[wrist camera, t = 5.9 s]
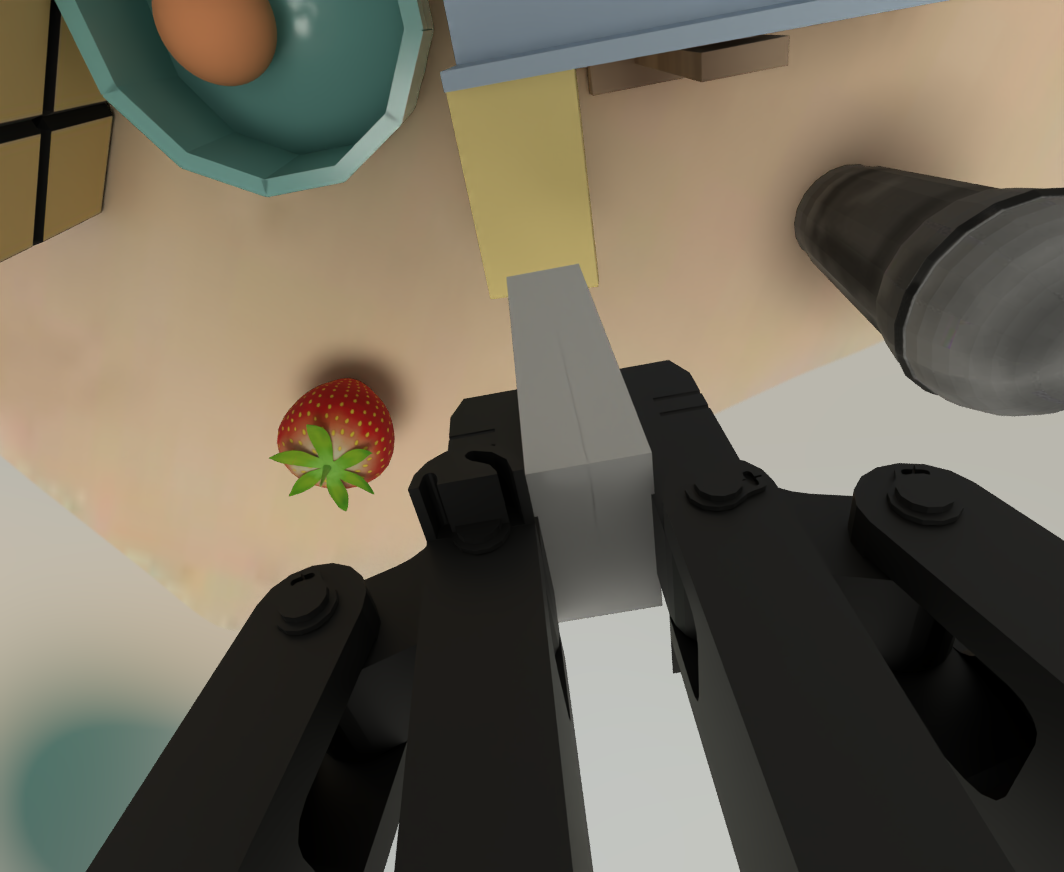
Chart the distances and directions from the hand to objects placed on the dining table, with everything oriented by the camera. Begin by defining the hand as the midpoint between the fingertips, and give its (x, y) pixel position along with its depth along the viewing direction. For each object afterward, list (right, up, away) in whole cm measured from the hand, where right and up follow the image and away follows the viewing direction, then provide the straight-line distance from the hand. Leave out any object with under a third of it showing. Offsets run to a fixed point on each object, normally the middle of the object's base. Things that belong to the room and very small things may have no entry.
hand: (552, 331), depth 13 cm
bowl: (-10, +14, +11) cm, 21 cm away
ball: (-12, +13, +9) cm, 19 cm away
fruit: (-10, 0, +21) cm, 23 cm away
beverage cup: (+15, +9, +17) cm, 24 cm away
